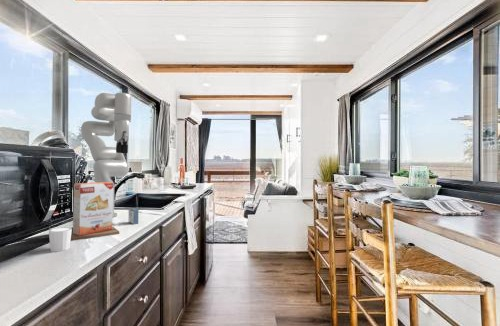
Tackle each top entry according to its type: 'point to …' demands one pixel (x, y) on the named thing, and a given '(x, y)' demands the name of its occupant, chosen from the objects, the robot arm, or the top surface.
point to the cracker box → (92, 207)
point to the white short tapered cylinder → (60, 239)
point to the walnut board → (94, 234)
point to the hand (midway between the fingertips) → (121, 153)
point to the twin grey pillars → (133, 216)
